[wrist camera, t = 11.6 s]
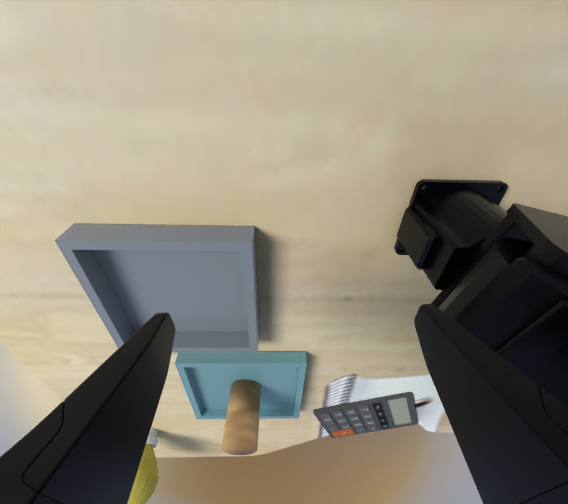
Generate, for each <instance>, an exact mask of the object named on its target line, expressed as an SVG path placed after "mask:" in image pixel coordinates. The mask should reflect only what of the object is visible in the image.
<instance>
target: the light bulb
mask: <svg viewBox="0 0 568 504" xmlns="http://www.w3.org/2000/svg"><path fill="white" fill-rule="evenodd" d="M157 433H158V431H157V430H156V429H153V428H151V429H150V432H149V435H148V439H147V442H146V445H145V448H144V452H143V455H142V458H141V461H140V465H139V468H138V471H137V474H136V478H135V481H134V484H133V487H132V491H131V494H130V497H129V500H128V504H145V503H146V502H147V500H148V499H149V498H150V497H151V495H152V494H153V492H154V490H155V488H156V485H157V482H158V469H157V461H156V458H155V454H154V450H153V448H155V447H156V445H157V442H158V438H157V437H156V436H157Z"/></svg>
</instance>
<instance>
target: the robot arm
mask: <svg viewBox="0 0 568 504" xmlns="http://www.w3.org/2000/svg"><path fill="white" fill-rule="evenodd" d="M424 185H426V187H425V188H424V189H421V188H422V186H424ZM499 187H500V188H499ZM498 188H499V189H498ZM507 188H508V185H507V184H506V183H504V182H502V181H479V180H432V179H424V180H421V181H419V182H418V183H417V184H416V186H415V189H414V192H413V195H412V198H411V201H410V204H409V207H408V208H407V209H406V210H405V213H404V216H403V219H402V222H401V225H400V228H399V230H398V233H397V237H398V238H397V241H396V244H395V247H394V249H395V251H396V253H397V254H398V255H409V256H410V258H411V260H412V261H413V263H414V264H415V266H416V267H417V268H418V269H419V270H423V271H424V272H425V274H426V275H427V277H428V278H429V280H430V282H431V283H432V285H433V286H434V288H435V289H437V290H442V292H441V293H440V294H439V295H438V296H437V297H436V299H435V300H434V301H433V302H432V303H431V304H423V305H421V306H420V307H419V310H418V312H417V315H416V317H415V321H414V323H415V328H416V331H417V335H418V338H419V341H420V345H421V348H422V352H423V355H424V359H425V362H426V365H427V368H428V370H429V373H430V375H431V378H432V380H433V383H434V385H435V387H436V390H437V392H438V395H439V397H440V400H441V402H442V404H443V407H444V409H445V412H446V414H447V417H448V419H449V421H450V424H451V426H452V429H453V431H454V434H455V436H456V438H457V441H458V443H459V446H460V448H461V450H462V453H463V455H464V458H465V460H466V463H467V465H468V467H469V470H470V472H471V475H472V477H473V480H474V482H475V484H476V487H477V489H478V492H479V494H480V497H481V499H482V501H483V504H568V217H567V216H563V215H559V214H555V213H551V212H547V211H543V210H539V209H535V208H531V207H527V206H523V205H520V204H516V203H514V204H513V205H512V206H511V207H510V208H509V210H508V211H507V212H506V211H505V210H504V209H502V208H501V207H499V206H498V205H499V203H500V201H501V199H502V198H503V196H504V194H505V192H506V191H507ZM497 189H498V190H497ZM400 248H402V249H401V250H399V249H400ZM175 331H176V330H175V325H174V323H173V320H172V318H171V316H170V314H169V313H167V312H163V313H156V314H155V315H154V316H152V317H151V318H150V319H149V320H148V321H147V322H146V323H145V324H144V325H143V326H142V327H141V328H140V329H139V330H138V331H137V332H136V333H135V334H133V335H132V336H131V337H130V338H129V339H128V340H127V341H126V342H125V343H124V344H123V345H122V346H121V347H120V348H119V349H118V350H117V351H116V352H114V353H113V354H112V355H111V356H110V357H109V358H108V359H107V360H106V361H105V362H104V363H103V364H102V365H101V366H100V367H99V368H98V369H96V370H95V371H94V372H93V373H92V374H91V375H90V376H89V377H88V378H87V379H86V380H85V381H84V382H83V383H82V384H81V385H80V386H79V387H77V388H76V389H75V390H74V391H73V392H72V393H71V394H70V395H69V396H68V397H67V398H66V399H65V401H64V402H62V403H60V404H59V405H58V406H57V407H56V408H55V409H54V410H53V411H52V412H51V413H50V414H49V415H48V416H47V417H46V418H44V419H43V420H42V421H41V422H40V423H39V424H38V425H37V426H36V427H35V428H33V429H32V430H31V431H30V432H29V433H28V434H27V435H25V436H24V437H23V438H22V439H21V440H20V441H19V442H17V443H16V444H15V445H14V446H13V447H12V448H10V449H9V450H8V451H7V452H6V453H4V454H3V455H2V456H1V457H0V504H128V500H129V497H130V494H131V491H132V487H133V484H134V481H135V478H136V474H137V471H138V468H139V465H140V461H141V458H142V455H143V452H144V448H145V445H146V442H147V439H148V435H149V432H150V429H151V426H152V422H153V419H154V416H155V413H156V409H157V406H158V403H159V400H160V397H161V393H162V390H163V387H164V384H165V380H166V377H167V373H168V368H169V363H170V358H171V353H172V348H173V342H174V337H175Z"/></svg>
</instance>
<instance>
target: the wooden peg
mask: <svg viewBox="0 0 568 504" xmlns="http://www.w3.org/2000/svg"><path fill="white" fill-rule="evenodd" d="M260 395H261V385H260V384H259V383H258V382H256V381H253V380H248V379H242V380H237V381H235V382H233V383H232V384H231V389H230V396H229V403H228V409H227V416H226V423H225V429H224V436H223V443H222V450H223V451H224V452H226V453H229V454H233V455H248V454H252V453H254V452H256V451H257V445H258V428H259V412H260Z"/></svg>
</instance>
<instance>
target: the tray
mask: <svg viewBox="0 0 568 504" xmlns="http://www.w3.org/2000/svg"><path fill="white" fill-rule="evenodd" d="M175 365H176V367H177V370H178V372H179V375H180V377H181V380H182V382H183V385H184V388H185V390H186V393H187V395H188V398H189V400H190V403H191V405H192V408H193V410H194V413H195V415H196V418H197V419H226V416H227V409H228V403H229V396H230V389H231V384H232V383H233V382H235V381H237V380H242V379H248V380H253V381H256V382H258V383H259V384H260V385H261V395H260V412H259V419H260V418H299V413H300V406H301V400H302V393H303V386H304V380H305V373H306V366H307V359H306V352H179V353H178V356H177V359H176V362H175Z"/></svg>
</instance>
